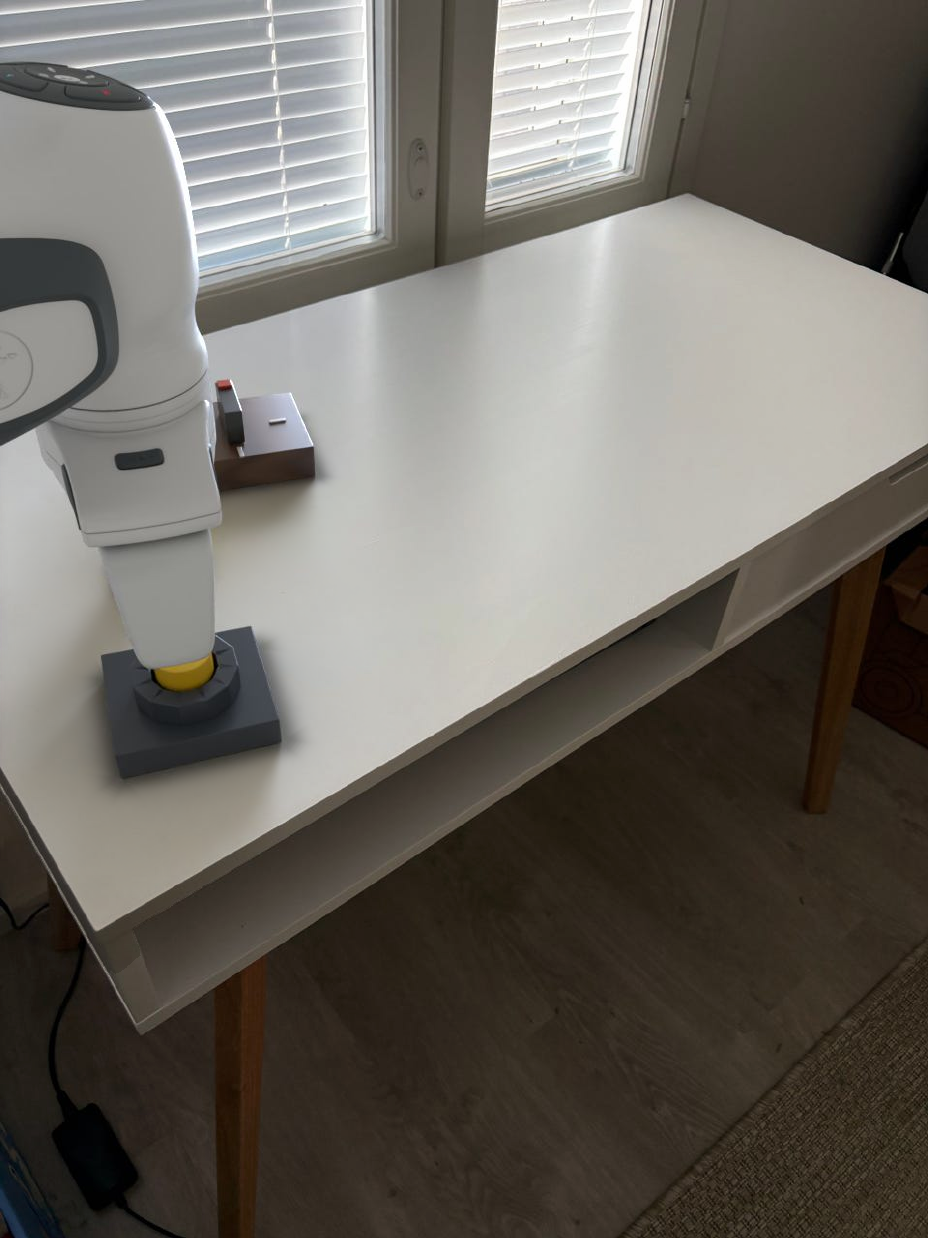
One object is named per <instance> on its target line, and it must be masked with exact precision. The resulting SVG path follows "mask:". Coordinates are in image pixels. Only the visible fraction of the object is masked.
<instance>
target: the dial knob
mask: <svg viewBox="0 0 928 1238" xmlns="http://www.w3.org/2000/svg"><path fill="white" fill-rule="evenodd" d="M214 386H215V395H216V402H217V403H218V411H219V415H220V418H221V421H222V425H223V428H224V431H225V434H226V437H227V440H228V443H229V444H233V443H241V442H245V433H244V424H243V415H242V410H241V407H240V404H239V401H238V399H239V398H238V396H237V392H236V389H235V386H234V384H233V381H232V380H231V379H230V378H228V379H220V380H216V382H215V383H214Z"/></svg>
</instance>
